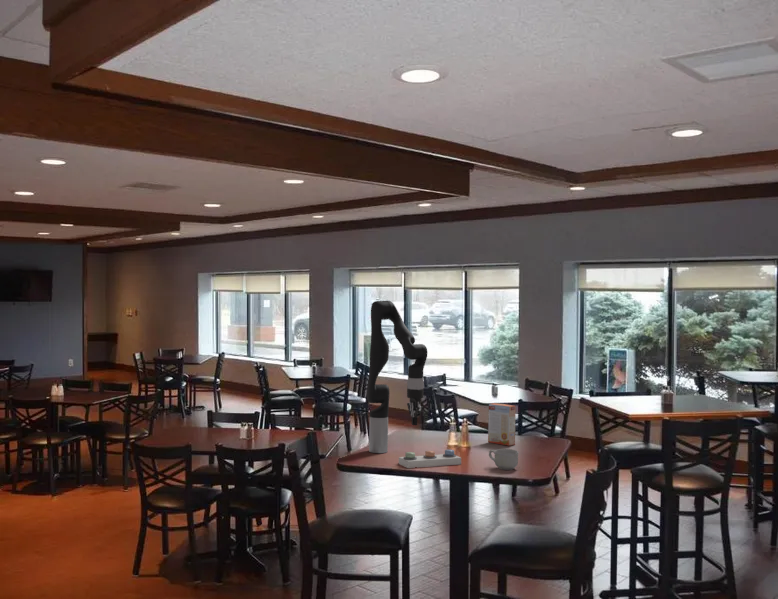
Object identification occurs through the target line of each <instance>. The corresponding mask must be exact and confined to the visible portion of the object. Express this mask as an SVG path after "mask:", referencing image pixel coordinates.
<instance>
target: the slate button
mask: <svg viewBox="0 0 778 599" xmlns="http://www.w3.org/2000/svg"><path fill="white" fill-rule="evenodd" d="M444 454H445V455H447V456H453V455H454V454H455V450H454V449H445V450H444Z"/></svg>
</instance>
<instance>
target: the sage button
mask: <svg viewBox="0 0 778 599" xmlns="http://www.w3.org/2000/svg"><path fill="white" fill-rule="evenodd" d="M415 456H416V453H415V452H414V451H413V452H412V451H407V452H405V456H404V457H405V458H415Z"/></svg>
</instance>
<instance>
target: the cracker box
mask: <svg viewBox="0 0 778 599" xmlns="http://www.w3.org/2000/svg"><path fill="white" fill-rule="evenodd" d="M516 411H517V410H516V405H514V404H513V405H511V404H504V403H497V402H494V403H488V420H487V421H488V432H487V443H491V444H494V445H495V444H497V445H502V446H508V447H509V446H515V445H516V414H517V413H516Z"/></svg>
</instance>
